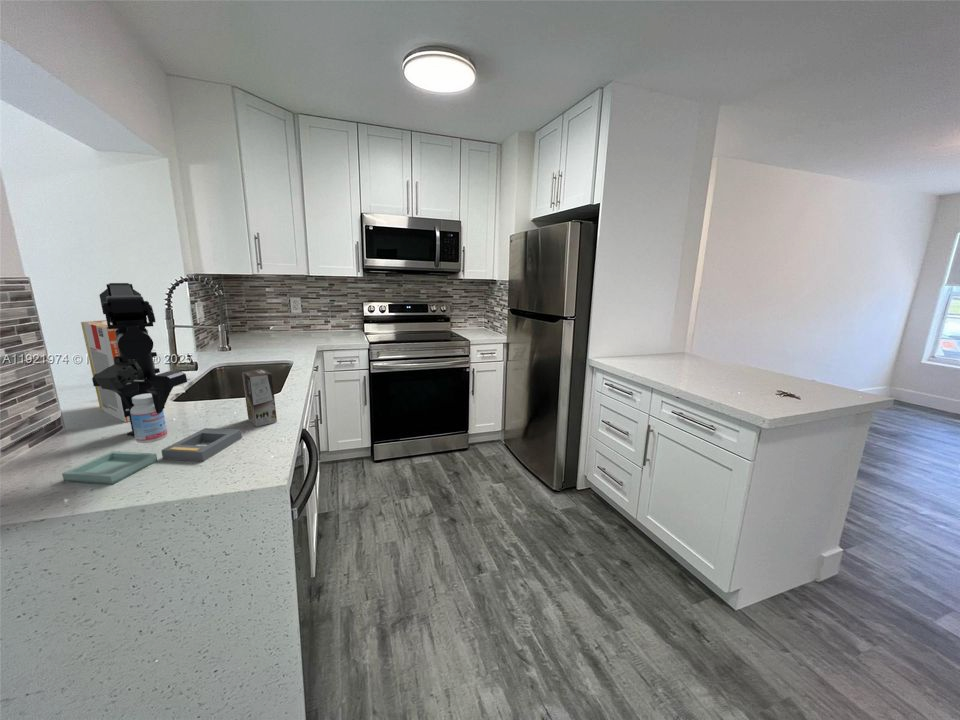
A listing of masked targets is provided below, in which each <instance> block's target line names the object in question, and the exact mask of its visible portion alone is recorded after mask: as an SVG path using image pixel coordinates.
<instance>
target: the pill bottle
mask: <svg viewBox="0 0 960 720" xmlns="http://www.w3.org/2000/svg"><path fill="white" fill-rule="evenodd" d="M132 403H133V404H134V405H135V406H133V407H132V408H131V410H130V414H131V419H132V424H133V429H134V435H133V436H134V438H135V441H136V442H137V443H138V444H139V443H140V444H150V443H155V442H158V441H162V440H164V439H165V438H166V437H167V436H168V429H167V425H166V420H165V419H166V417H165V413H164V410H163V411H162V412H161V413H157V412H156V409H155V406H154V402H153V397H152V394H151V393H148V394H141V395H137V396H134V397H132Z"/></svg>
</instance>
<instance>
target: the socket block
mask: <svg viewBox="0 0 960 720" xmlns="http://www.w3.org/2000/svg"><path fill="white" fill-rule="evenodd" d="M242 438H243V434H242V429H231V428H230V429H226V428H213V427H212V428H209V427H207V428H206V427H204V428H202V429H200V430H198V431H196V432H195V433H192V434H190V435H188V436H187V437H185V438H182V439H181V440H179V441H177V442H175V443H173V444H171V445H168V446H167V447H165V448H163V449H161V456H162V460H172V461H189V462H190V461H193V462H205V461H207V460H208V459H210V458H212V457H213V456H215V455H217V454H218V453H220V452H221V451H223V450H225V449H227V448H228V447H229V446H231V445H233V444H234V443H236V442H238V441H240V440H241V439H242ZM202 442H209V444H207V445H206V446H205V445H198V444H201V443H202Z"/></svg>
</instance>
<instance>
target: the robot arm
mask: <svg viewBox="0 0 960 720" xmlns="http://www.w3.org/2000/svg"><path fill="white" fill-rule="evenodd" d="M98 296H99V300H100V301H99V302H100V305H101V310H102V314H103V315H105V320H107V325H108V329H116V332H115V336H116V341H117V346H118V351H119V356H115V358H114V365H112V366H110V367H108V368H106V369H105V370H103V371H101V372H100V373H97V374H95V375H94V377H93V376H92V378H91V380H92V384H93V387H95V386H101V388H102V389H107V390H111V391H113V392H116V393H117V394H118V395H119V396H120V397H121V402H122V407H123V411H124V416H125V417H128V416H129V418H130V422H129V423H130V427H131V431H129V432H127V433H126V435H127V436H135V435H134V429H133V424H132V419H131V414H130V410H131V408H132V407H133V406H135V405H134V404H133V403H132V397H134V396H137V395H141V394H148V393H151V394H152V397H153V402H154V406H155V409H156V412H157V413H161V412H162V411H163V412H164V409H165V407H166V404H167V401H168V398H169V396H170V395H171V392H172V390H173V388H174V387H176V386H180V385H182V384H183V385H184V384H186V383H187V382H188V377H187V375H186V373H185V372H183V371H175V370H168V371H165V372H163V373H160V368H159V367H158V368H157V367H155V364H154V363H155V362H154V359H153V358H155V357H158V356H157V355H158V354H157V352H156V351H152V350H153V348H154V341H153V339H152V337H151V336H150V335H149V331H148V329H147V327H154V323H156V317H155V313H154V309H153V306H152V304H150V302H149V301H148V300H144V297H143V296H142V294H141V293H140V292H138V291H137V290H135V289H134V287H133V284H132V283H129V282H109V283H107V284H106V289H104V290H103V291H102V292H101V293H99V295H98ZM110 322H111V323H112V325H111V324H110ZM127 409H129V410H127Z"/></svg>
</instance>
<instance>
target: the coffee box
mask: <svg viewBox="0 0 960 720" xmlns="http://www.w3.org/2000/svg"><path fill="white" fill-rule="evenodd" d="M241 376H242V382H243V390H244V391H243V392H244V396H245V397H244V398H245V405H246V412H247V418H248V421H249V422H251V423H252V425H254V427H256V428H257V427H261V426H266V425H271V424H274V423H277V422H278V420H277V417H278V416H277V409H276V399H275V390H274V381H273V373H271V372H270V371H268V370H266V369H264V368H258V369H253V370H249V371H242V372H241Z"/></svg>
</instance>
